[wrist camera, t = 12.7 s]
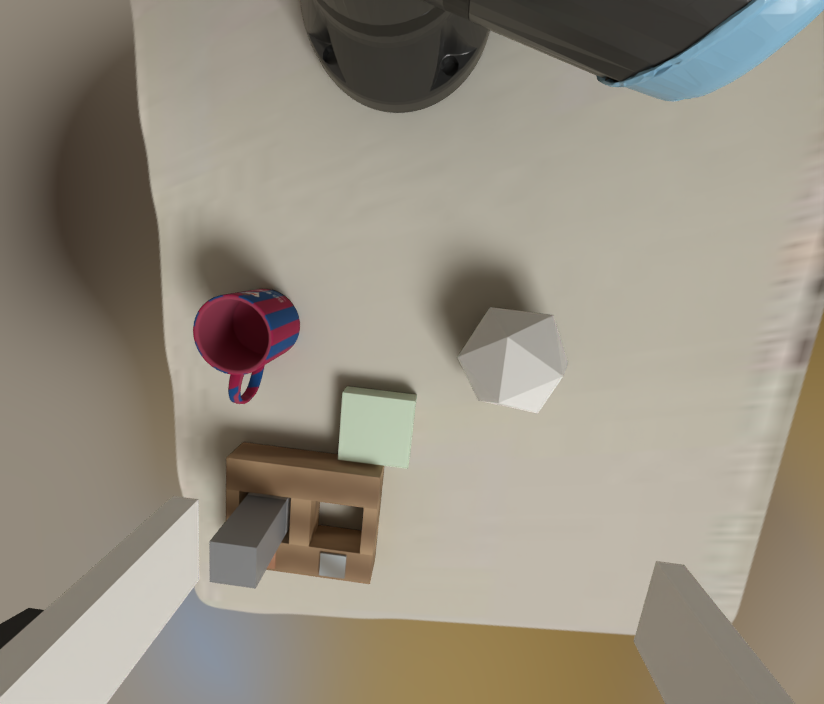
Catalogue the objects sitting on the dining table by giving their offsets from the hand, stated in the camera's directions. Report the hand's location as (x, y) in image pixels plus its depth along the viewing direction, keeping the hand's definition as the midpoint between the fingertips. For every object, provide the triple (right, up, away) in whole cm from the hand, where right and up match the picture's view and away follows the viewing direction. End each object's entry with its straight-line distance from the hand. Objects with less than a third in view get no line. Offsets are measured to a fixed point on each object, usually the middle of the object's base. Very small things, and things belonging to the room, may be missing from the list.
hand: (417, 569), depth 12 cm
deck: (-4, -1, +30) cm, 30 cm away
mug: (-15, +8, +29) cm, 33 cm away
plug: (-15, -10, +33) cm, 37 cm away
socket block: (-11, -10, +32) cm, 36 cm away
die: (+9, +6, +28) cm, 30 cm away
